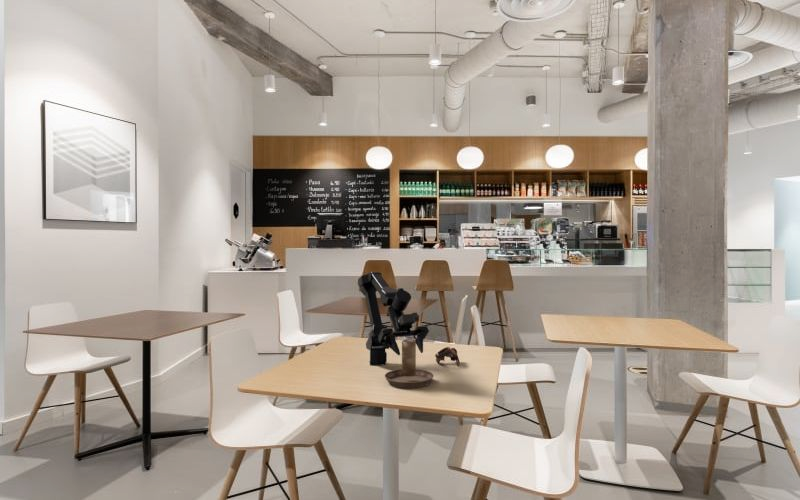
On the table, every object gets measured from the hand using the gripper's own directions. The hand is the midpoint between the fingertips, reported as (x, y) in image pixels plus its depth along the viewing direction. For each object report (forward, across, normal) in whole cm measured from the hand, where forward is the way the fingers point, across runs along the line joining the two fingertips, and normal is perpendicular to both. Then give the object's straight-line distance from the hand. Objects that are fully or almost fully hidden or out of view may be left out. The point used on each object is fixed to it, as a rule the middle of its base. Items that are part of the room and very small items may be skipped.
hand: (410, 353), depth 172 cm
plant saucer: (+7, 0, +9) cm, 11 cm away
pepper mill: (+4, 0, +7) cm, 8 cm away
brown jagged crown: (-5, +27, +21) cm, 35 cm away
